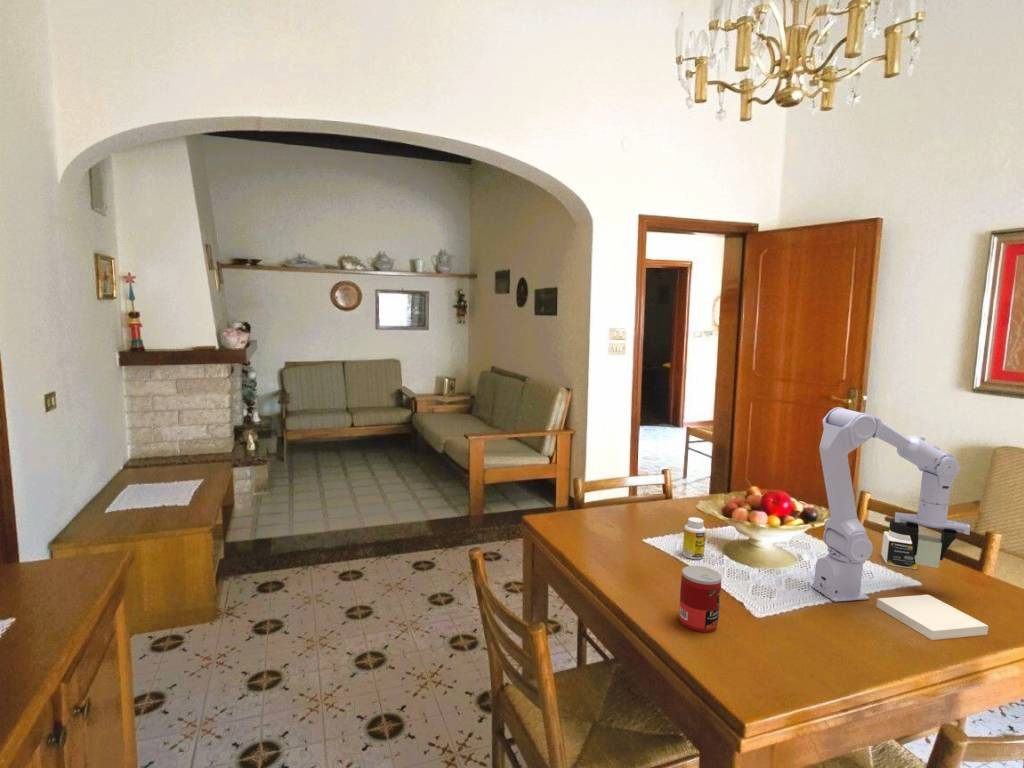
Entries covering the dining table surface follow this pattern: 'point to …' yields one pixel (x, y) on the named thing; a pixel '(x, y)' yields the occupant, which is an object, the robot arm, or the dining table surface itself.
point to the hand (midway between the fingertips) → (927, 556)
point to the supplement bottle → (694, 538)
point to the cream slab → (932, 617)
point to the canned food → (699, 598)
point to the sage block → (928, 551)
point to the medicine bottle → (898, 546)
